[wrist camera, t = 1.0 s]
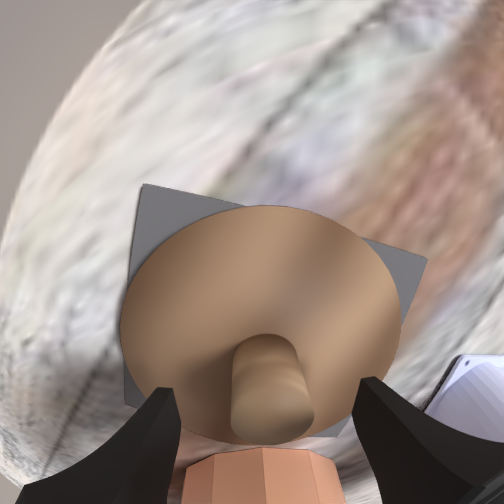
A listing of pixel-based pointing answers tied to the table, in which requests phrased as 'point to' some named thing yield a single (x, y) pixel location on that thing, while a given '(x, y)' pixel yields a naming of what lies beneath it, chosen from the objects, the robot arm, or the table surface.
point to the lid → (261, 323)
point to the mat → (197, 207)
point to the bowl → (263, 478)
